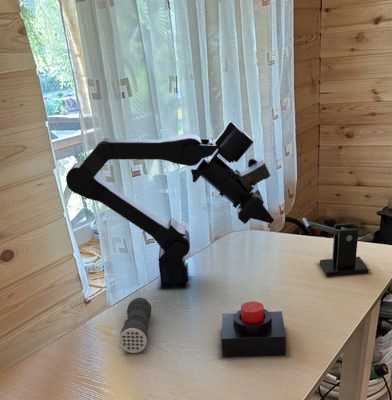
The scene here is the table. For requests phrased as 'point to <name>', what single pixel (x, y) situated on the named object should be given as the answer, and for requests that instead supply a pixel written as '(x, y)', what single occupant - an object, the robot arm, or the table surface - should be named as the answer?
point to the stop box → (253, 336)
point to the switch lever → (320, 226)
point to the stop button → (252, 312)
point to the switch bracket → (344, 254)
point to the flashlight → (136, 326)
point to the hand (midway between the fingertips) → (272, 221)
